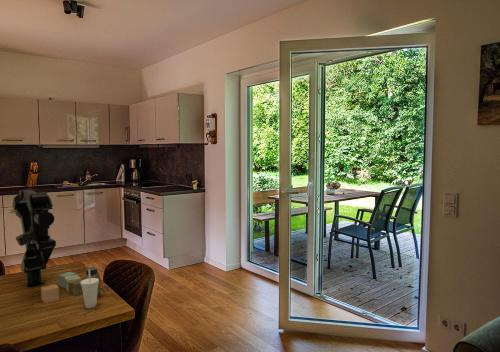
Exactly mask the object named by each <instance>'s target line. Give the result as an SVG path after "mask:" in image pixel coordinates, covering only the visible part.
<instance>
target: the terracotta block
mask: <svg viewBox="0 0 500 352" xmlns="http://www.w3.org/2000/svg"><path fill="white" fill-rule="evenodd" d="M59 290H60V287H59V286H58V285H57V284H56V283H53V284H49V285H44V286H40V295H41V301H43V302H44V303H45V304H48V303H51V302H55V301H58V300H60V291H59Z"/></svg>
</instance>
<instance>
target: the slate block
mask: <svg viewBox="0 0 500 352" xmlns="http://www.w3.org/2000/svg"><path fill="white" fill-rule="evenodd" d="M75 275H78V274H77V273H76V272H71V271H68V272H65V273H62V274H59V275H58V285H59V286H58V287H59V288H65V289H66V287H65V277H69V276H75Z"/></svg>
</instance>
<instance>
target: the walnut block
mask: <svg viewBox="0 0 500 352" xmlns="http://www.w3.org/2000/svg"><path fill="white" fill-rule="evenodd" d="M82 280H84V278H81V277H80V279H76V280H73V281H70V282H68V287H69V292H68V295H71V296H73V297H77V296H81V295H83V291H82V286H81V285H80V284H81V283H80V282H81V281H82Z"/></svg>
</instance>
